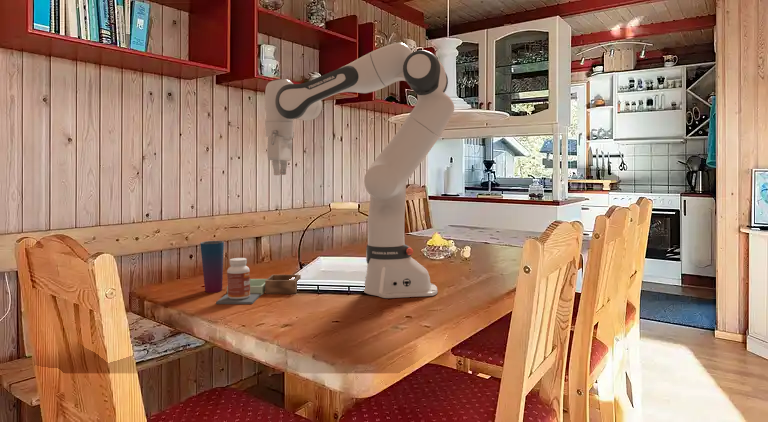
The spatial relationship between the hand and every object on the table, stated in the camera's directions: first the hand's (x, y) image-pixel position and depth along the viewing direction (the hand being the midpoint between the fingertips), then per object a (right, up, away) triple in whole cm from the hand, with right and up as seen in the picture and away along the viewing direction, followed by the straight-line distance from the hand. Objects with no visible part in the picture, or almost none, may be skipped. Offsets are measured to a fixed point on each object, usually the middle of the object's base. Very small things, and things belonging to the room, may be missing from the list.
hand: (280, 175), depth 171 cm
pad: (-8, -37, -19) cm, 42 cm away
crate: (+3, -36, -8) cm, 37 cm away
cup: (-19, -36, -8) cm, 42 cm away
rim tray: (-8, -36, -8) cm, 38 cm away
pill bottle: (-8, -36, -19) cm, 42 cm away
